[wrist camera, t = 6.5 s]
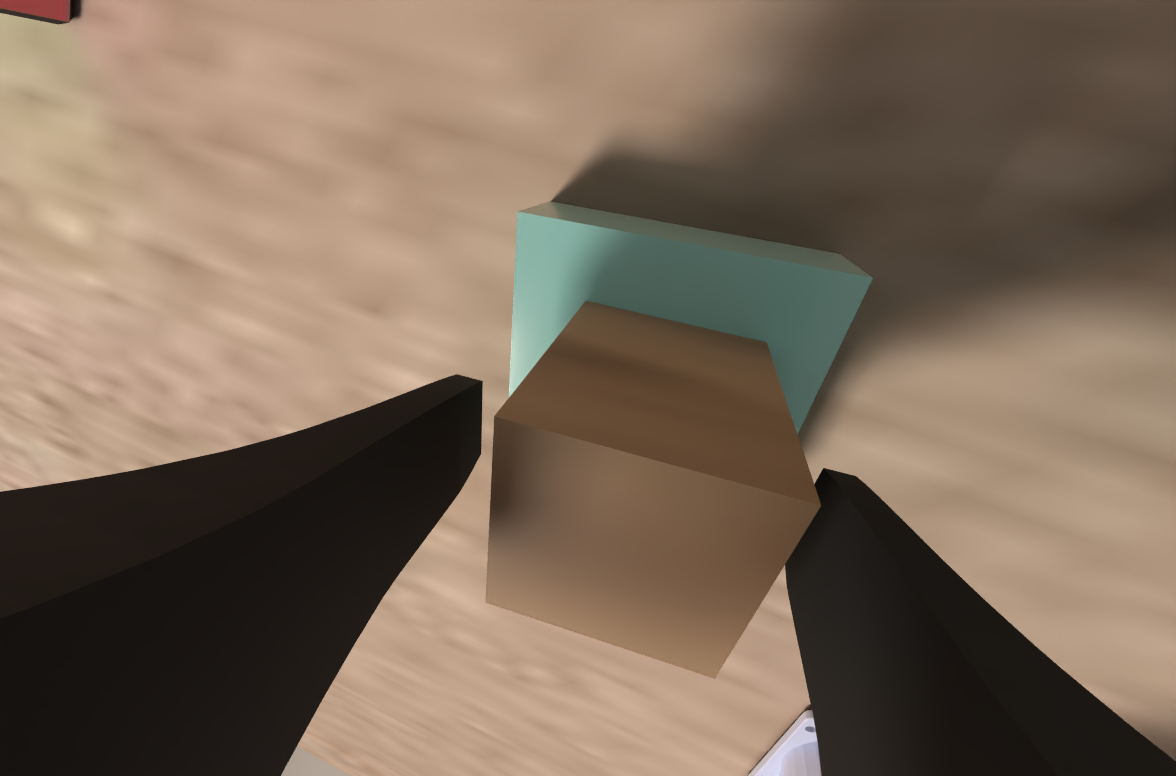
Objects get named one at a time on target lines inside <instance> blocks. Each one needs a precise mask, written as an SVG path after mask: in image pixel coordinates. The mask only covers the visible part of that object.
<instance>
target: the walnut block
mask: <svg viewBox="0 0 1176 776" xmlns="http://www.w3.org/2000/svg"><path fill="white" fill-rule="evenodd" d="M820 507H821V503H820V500H819V497H818V494H817V491H816V488H815V485H814V482H813V479H812V476H811V473H810V470H809V467H808V464H807V461H806V458H805V455H804V453H803V450H802V447H801V444H800V441H799V438H798V435H797V432H796V429H795V426H794V423H793V420H792V417H791V414H790V411H789V408H788V405H787V402H786V399H785V396H784V393H783V390H782V387H781V384H780V381H779V378H778V375H777V372H776V369H775V366H774V363H773V360H772V357H771V354H770V351H769V348H768V345H767V342H763V341H759V340H754V339H750V338H746V337H741V336H737V335H733V334H728V333H724V332H720V331H715V330H711V329H707V328H702V327H698V326H694V325H689V324H685V323H681V322H676V321H672V320H668V319H663V318H659V317H655V316H650V315H646V314H642V313H637V312H633V311H629V310H624V309H620V308H616V307H611V306H607V305H603V304H598V303H594V302H590V301H585V302H584V303H583V305H582V306H581V307H580V309H579V310H578V311H577V312H576V314H575V315H574V316H573V317H572V319H571V320H570V321H569V322H568V324H567V325H566V326H565V328H564V329H563V330H562V331H561V333H560V334H559V335H558V336H557V338H556V339H555V340H554V341H553V343H552V344H551V345H550V347H549V348H548V349H547V350H546V352H545V353H544V354H543V355H542V357H541V358H540V359H539V360H538V362H537V363H536V364H535V366H534V367H533V368H532V369H531V371H530V372H529V373H528V374H527V376H526V377H525V378H524V380H523V381H522V382H521V383H520V385H519V386H518V387H517V388H516V390H515V391H514V392H513V393H512V395H511V396H510V397H509V399H508V400H507V401H506V402H505V404H504V405H503V406H502V407H501V409H500V410H499V411H498V412H497V414H496V415H495V416H494V437H493V458H492V479H491V500H490V521H489V542H488V564H487V585H486V603H489V604H492V605H495V606H498V607H501V608H504V609H507V610H510V611H513V612H516V613H519V614H522V615H525V616H528V617H531V618H534V619H537V620H540V621H543V622H546V623H549V624H552V625H555V626H558V627H561V628H564V629H567V630H570V631H573V632H576V633H579V634H582V635H585V636H588V637H591V638H594V639H597V640H600V641H603V642H606V643H609V644H612V645H615V646H618V647H621V648H624V649H627V650H630V651H633V652H636V653H639V654H642V655H645V656H648V657H651V658H654V659H657V660H660V661H663V662H666V663H669V664H672V665H675V666H678V667H681V668H684V669H687V670H690V671H693V672H697V673H700V674H703V675H706V676H709V677H712V678H715V677H716V676H717V674H718V672H719V671H720V669H721V668H722V666H723V664H724V663H725V661H726V659H727V658H728V656H729V655H730V653H731V651H732V650H733V648H734V646H735V645H736V643H737V642H738V640H739V638H740V637H741V635H742V633H743V632H744V630H745V629H746V627H747V625H748V624H749V622H750V620H751V619H752V617H753V616H754V614H755V612H756V611H757V609H758V607H759V606H760V604H761V603H762V601H763V599H764V598H765V596H766V594H767V593H768V591H769V590H770V588H771V586H772V585H773V583H774V581H775V580H776V578H777V577H778V575H779V573H780V572H781V570H782V568H783V567H784V565H785V564H786V562H787V560H788V559H789V557H790V555H791V554H792V552H793V551H794V549H795V547H796V546H797V544H798V542H799V541H800V539H801V538H802V536H803V534H804V533H805V531H806V529H807V528H808V526H809V525H810V523H811V521H812V520H813V518H814V516H815V515H816V513H817V512H818V510H819V508H820Z"/></svg>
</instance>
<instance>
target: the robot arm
mask: <svg viewBox="0 0 1176 776" xmlns="http://www.w3.org/2000/svg"><path fill="white" fill-rule="evenodd" d="M482 383H483V381H480V380H476V379H473V378H469V377H465V376H461V375H454V376H450V377H447V378H444V379H441V380H438V381H436V382H433V383H430V384H428V385H425V386H422V387H420V388H417V389H415V390H412V391H410V392H407V393H404V394H402V395H399V396H397V397H394V398H391V399H389V400H386V401H384V402H381V403H378V404H376V405H373V406H371V407H368V408H365V409H362V410H360V411H357V412H354V413H351V414H348V415H345V416H342V417H339V418H336V419H333V420H330V421H328V422H325V423H322V424H319V425H316V426H313V427H310V428H307V429H304V430H300V431H297V432H294V433H291V434H287V435H284V436H280V437H277V438H273V439H270V440H266V441H262V442H258V443H255V444H251V445H247V446H243V447H240V448H236V449H232V450H228V451H224V452H219V453H214V454H210V455H205V456H200V457H196V458H191V459H187V460H182V461H177V462H173V463H168V464H163V465H159V466H154V467H149V468H145V469H139V470H134V471H129V472H123V473H117V474H112V475H106V476H100V477H94V478H89V479H83V480H76V481H70V482H63V483H57V484H51V485H44V486H38V487H31V488H24V489H17V490H10V491H3V492H0V776H281V774H282V772H283V770H284V768H285V766H286V765H287V763H288V761H289V759H290V758H291V756H292V754H293V752H294V750H295V748H296V747H297V745H298V743H299V741H300V739H301V737H302V736H303V734H304V732H305V730H306V728H307V727H308V725H309V723H310V721H311V719H312V717H313V716H314V714H315V712H316V710H317V708H318V707H319V705H320V703H321V701H322V699H323V698H324V696H325V694H326V692H327V691H328V689H329V687H330V685H331V684H332V682H333V680H334V679H335V677H336V675H337V673H338V672H339V670H340V668H341V666H342V665H343V663H344V661H345V660H346V658H347V656H348V654H349V653H350V651H351V649H352V647H353V646H354V644H355V642H356V641H357V639H358V638H359V636H360V634H361V633H362V631H363V629H364V628H365V626H366V624H367V623H368V621H369V619H370V618H371V616H372V614H373V613H374V611H375V610H376V608H377V606H378V605H379V603H380V601H381V600H382V598H383V596H384V595H385V594H386V592H387V591H388V589H389V588H390V586H391V585H392V583H393V582H394V580H395V579H396V578H397V576H398V575H399V573H400V572H401V571H402V569H403V568H404V567H405V565H406V564H407V563H408V561H409V560H410V559H411V557H412V556H413V555H414V553H415V552H416V551H417V549H418V548H419V547H420V545H421V544H422V543H423V541H424V540H425V539H426V537H427V536H428V534H429V533H430V532H431V530H432V529H433V528H434V526H435V525H436V524H437V522H438V521H439V520H440V518H441V517H442V516H443V514H444V513H445V512H446V510H447V509H448V507H449V506H450V505H451V503H452V502H453V501H454V499H455V498H456V496H457V495H458V494H459V492H460V491H461V489H462V487H463V486H464V484H465V482H466V480H467V479H468V477H469V475H470V473H471V472H472V470H473V468H474V466H475V464H476V462H477V460H478V458H479V457H480V455H481V434H482ZM814 485H815V488H816V491H817V494H818V497H819V500H820V503H821V507H820V508H819V510H818V512H817V513H816V515H815V516H814V518H813V520H812V521H811V523H810V525H809V526H808V528H807V529H806V531H805V533H804V534H803V536H802V538H801V539H800V541H799V542H798V544H797V546H796V547H795V549H794V551H793V552H792V554H791V555H790V557H789V559H788V560H787V562H786V564H785V569H786V581H787V589H788V595H789V600H790V605H791V610H792V615H793V620H794V625H795V630H796V635H797V640H798V645H799V649H800V654H801V659H802V664H803V669H804V673H805V678H806V683H807V688H808V693H809V698H810V702H811V707H812V710H807V711H805V712H804V713H803V714H802V715H801V716H800V717H799V718H798V719H797V720H796V722H795V723H794V724H793V725H792V726H791V727H790V728H789V730H788V731H787V732H786V733H785V734H784V735H783V736H782V737H781V739H780V740H779V741H778V742H777V743H776V744H775V745H774V747H773V748H772V749H771V750H770V751H769V752H768V753H767V754H766V756H765V757H764V758H763V759H762V760H761V761H760V762H759V764H758V765H757V766H756V767H755V768H754V769H753V770H752V771H751V773H750V774H749V775H748V776H1176V761H1174V760H1173V759H1172V758H1171V757H1169V756H1168V755H1167V754H1166V753H1164V752H1163V751H1162V750H1160V749H1159V748H1158V747H1157V746H1155V745H1154V744H1153V743H1152V742H1150V741H1149V740H1148V739H1147V738H1145V737H1144V736H1143V735H1142V734H1140V733H1139V732H1138V731H1136V730H1135V729H1134V728H1133V727H1131V726H1130V725H1129V724H1128V723H1126V722H1125V721H1124V720H1123V719H1122V718H1120V717H1119V716H1118V715H1117V714H1116V713H1114V712H1113V711H1112V710H1111V709H1110V708H1108V707H1107V706H1106V705H1105V704H1104V703H1102V702H1101V701H1100V700H1099V699H1097V698H1096V697H1095V696H1094V695H1093V694H1091V693H1090V692H1089V691H1088V690H1087V689H1085V688H1084V687H1083V686H1082V685H1081V684H1079V683H1078V682H1077V681H1076V680H1075V679H1073V678H1072V677H1071V676H1070V675H1069V674H1067V673H1066V672H1065V671H1064V670H1063V669H1061V668H1060V667H1059V666H1058V665H1057V664H1056V663H1054V662H1053V661H1052V660H1051V659H1050V658H1049V657H1047V656H1046V655H1045V654H1044V653H1043V652H1042V651H1041V650H1039V649H1038V648H1037V647H1036V646H1035V645H1034V644H1033V643H1031V642H1030V641H1029V640H1028V639H1027V638H1026V637H1025V636H1024V635H1023V634H1021V633H1020V632H1019V631H1018V630H1017V629H1016V628H1015V627H1014V626H1013V625H1012V624H1010V623H1009V622H1008V621H1007V620H1006V619H1005V618H1004V617H1003V616H1002V615H1001V614H999V613H998V612H997V611H996V610H995V609H994V608H993V607H992V606H991V605H990V604H988V603H987V602H986V601H985V600H984V599H983V598H982V597H981V596H980V595H979V594H978V593H977V592H976V591H975V590H974V589H972V588H971V587H970V586H969V585H968V584H967V583H966V582H965V581H964V580H963V579H962V578H961V577H960V576H959V575H958V574H957V573H956V572H955V571H954V570H953V569H952V568H951V567H950V566H948V565H947V564H946V563H945V562H944V561H943V560H942V559H941V558H940V557H939V556H938V555H937V554H936V553H935V552H934V551H933V550H932V549H931V548H930V547H929V546H928V545H927V544H926V543H925V542H924V541H923V540H922V539H921V538H920V537H919V536H918V535H917V534H916V533H915V532H914V531H913V530H912V529H911V528H910V527H909V526H908V525H907V524H906V523H905V522H904V521H903V520H902V519H901V518H900V517H899V516H898V515H897V514H896V513H895V512H894V511H893V510H892V509H891V508H890V507H889V506H888V505H887V504H886V503H885V502H884V501H883V500H882V499H881V498H880V497H879V496H878V495H876V494H875V493H874V492H873V491H872V490H871V489H870V488H869V487H868V486H867V485H866V484H865V483H863V482H862V481H861V480H860V479H859V478H857V477H856V476H853V475H849V474H845V473H841V472H837V471H833V470H829V469H825V468H823V470H822V472H821V473H820V475H819V477H818V479H817V481H816V482H815V484H814Z"/></svg>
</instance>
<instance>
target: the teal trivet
mask: <svg viewBox="0 0 1176 776" xmlns="http://www.w3.org/2000/svg"><path fill="white" fill-rule="evenodd" d="M872 279H873V277H871V276H870V275H869V274H867V273H866V272H864V271H863V270H862V269H860V268H859V267H857V266H856V265H855V264H853V263H852V262H850V261H849V260H848V259H846V258H845V257H843V256H842V255H841V254H838V253H832V252H827V251H821V250H816V249H810V248H805V247H799V246H794V245H788V244H783V243H777V242H772V241H766V240H761V239H755V238H750V237H744V236H739V235H733V234H728V233H722V232H717V231H711V230H706V229H700V228H695V227H689V226H684V225H678V224H673V223H667V222H662V221H656V220H651V219H645V218H640V217H634V216H629V215H623V214H618V213H612V212H607V211H601V210H595V209H590V208H584V207H579V206H573V205H568V204H562V203H557V202H551V201H550V202H547V203H543V204H540V205H537V206H534V207H531V208H528V209H524V210H521V211H518V216H517V237H516V258H515V279H514V299H513V320H512V341H511V362H510V383H509V397H510V396H511V395H512V393H513V392H514V391H515V390H516V388H517V387H518V386H519V385H520V383H521V382H522V381H523V380H524V378H525V377H526V376H527V374H528V373H529V372H530V371H531V369H532V368H533V367H534V366H535V364H536V363H537V362H538V360H539V359H540V358H541V357H542V355H543V354H544V353H545V352H546V350H547V349H548V348H549V347H550V345H551V344H552V343H553V341H554V340H555V339H556V338H557V336H558V335H559V334H560V333H561V331H562V330H563V329H564V328H565V326H566V325H567V324H568V322H569V321H570V320H571V319H572V317H573V316H574V315H575V314H576V312H577V311H578V310H579V309H580V307H581V306H582V305H583V303H584V302H585V301H590V302H594V303H598V304H603V305H607V306H611V307H616V308H620V309H624V310H629V311H633V312H637V313H642V314H646V315H650V316H655V317H659V318H663V319H668V320H672V321H676V322H681V323H685V324H689V325H694V326H698V327H702V328H707V329H711V330H715V331H720V332H724V333H728V334H733V335H737V336H741V337H746V338H750V339H754V340H759V341H763V342H767V345H768V348H769V351H770V354H771V357H772V360H773V363H774V366H775V369H776V372H777V375H778V378H779V381H780V384H781V387H782V390H783V393H784V396H785V399H786V402H787V405H788V408H789V411H790V414H791V417H792V420H793V423H794V426H795V429H796V432H797V435H798V432H799V430H800V428H801V426H802V424H803V422H804V420H805V418H806V416H807V414H808V412H809V410H810V408H811V406H812V404H813V401H814V399H815V397H816V395H817V393H818V391H819V389H820V387H821V385H822V383H823V381H824V379H825V377H826V375H827V372H828V370H829V368H830V366H831V364H832V362H833V360H834V358H835V356H836V354H837V352H838V350H839V348H840V346H841V344H842V341H843V339H844V337H845V335H846V333H847V331H848V329H849V327H850V325H851V323H852V321H853V319H854V317H855V315H856V313H857V310H858V308H859V306H860V304H861V302H862V300H863V298H864V296H865V294H866V292H867V290H868V288H869V286H870V284H871V281H872Z"/></svg>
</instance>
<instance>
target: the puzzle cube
mask: <svg viewBox="0 0 1176 776" xmlns="http://www.w3.org/2000/svg"><path fill="white" fill-rule="evenodd" d="M72 8H73V0H0V13H4V14H9V15H14V16H19V17H24V18H29V19H34V20H39V21H44V22H49V23H54V24H64V23H69V22H70V20H71V19H72Z"/></svg>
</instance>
